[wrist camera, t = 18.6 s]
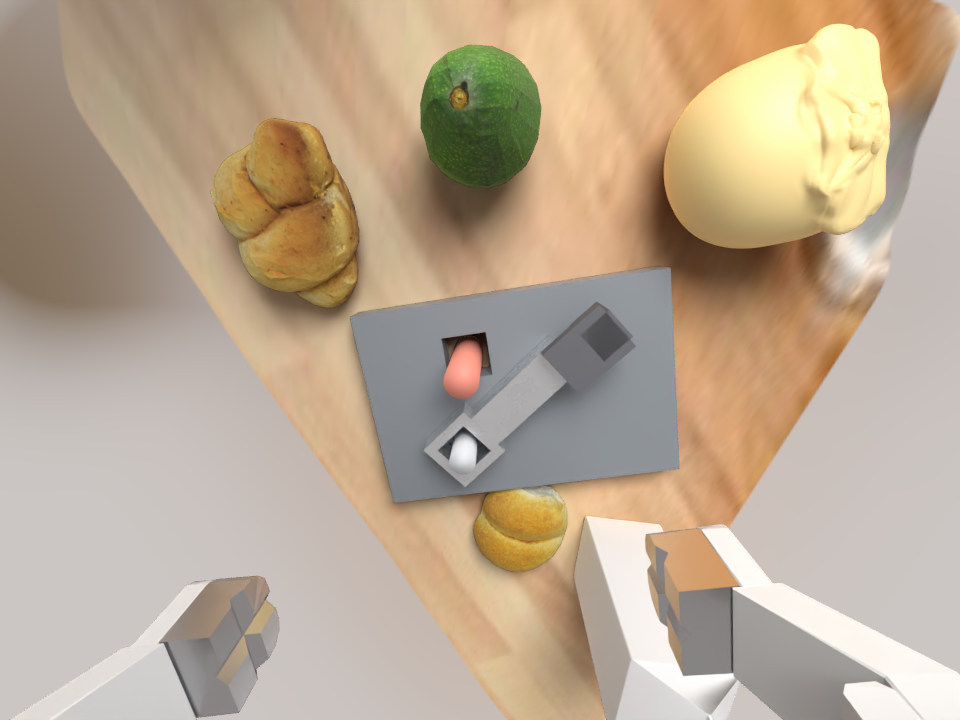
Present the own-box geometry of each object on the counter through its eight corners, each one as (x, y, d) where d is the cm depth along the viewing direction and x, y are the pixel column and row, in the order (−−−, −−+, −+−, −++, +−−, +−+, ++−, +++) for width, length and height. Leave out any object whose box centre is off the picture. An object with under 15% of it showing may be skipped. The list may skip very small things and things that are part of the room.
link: (467, 471, 38) (465, 487, 36) (428, 436, 38) (423, 450, 35) (581, 367, 35) (587, 376, 33) (542, 327, 35) (545, 334, 32)
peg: (453, 336, 38) (441, 366, 29) (481, 334, 38) (477, 363, 29) (457, 363, 38) (445, 400, 30) (484, 361, 38) (480, 397, 30)
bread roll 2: (466, 542, 44) (462, 572, 40) (494, 465, 41) (494, 489, 37) (544, 567, 44) (549, 598, 40) (578, 492, 42) (586, 517, 38)
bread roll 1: (385, 295, 37) (356, 310, 29) (276, 315, 38) (220, 335, 30) (345, 129, 34) (300, 97, 26) (227, 155, 35) (149, 132, 27)
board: (359, 312, 37) (329, 328, 31) (658, 265, 36) (696, 272, 29) (399, 487, 42) (381, 535, 35) (668, 455, 40) (703, 499, 33)
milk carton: (572, 575, 44) (627, 817, 26) (584, 514, 42) (652, 728, 24) (644, 583, 44) (749, 832, 26) (659, 522, 42) (785, 743, 24)
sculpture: (816, 220, 34) (955, 213, 24) (661, 264, 36) (729, 275, 25) (802, 59, 31) (953, -29, 21) (634, 112, 33) (698, 54, 22)
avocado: (424, 88, 33) (385, 7, 21) (530, 71, 32) (548, -21, 21) (440, 201, 35) (412, 183, 23) (540, 187, 34) (562, 162, 23)
